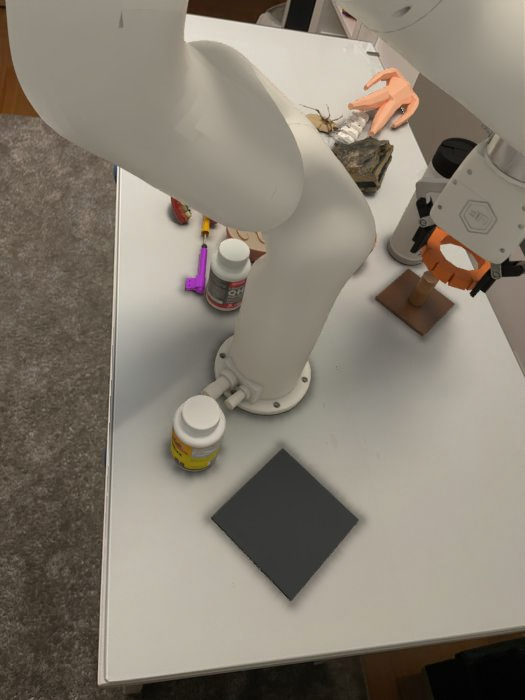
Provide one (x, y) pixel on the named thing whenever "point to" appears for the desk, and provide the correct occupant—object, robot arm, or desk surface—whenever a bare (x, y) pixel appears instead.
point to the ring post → (416, 300)
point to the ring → (445, 268)
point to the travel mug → (439, 167)
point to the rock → (366, 161)
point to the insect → (322, 121)
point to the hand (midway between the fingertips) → (446, 268)
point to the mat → (285, 522)
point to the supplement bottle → (197, 433)
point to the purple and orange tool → (200, 279)
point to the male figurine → (388, 99)
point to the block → (336, 148)
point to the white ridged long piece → (353, 126)
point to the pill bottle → (228, 275)
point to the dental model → (183, 211)
